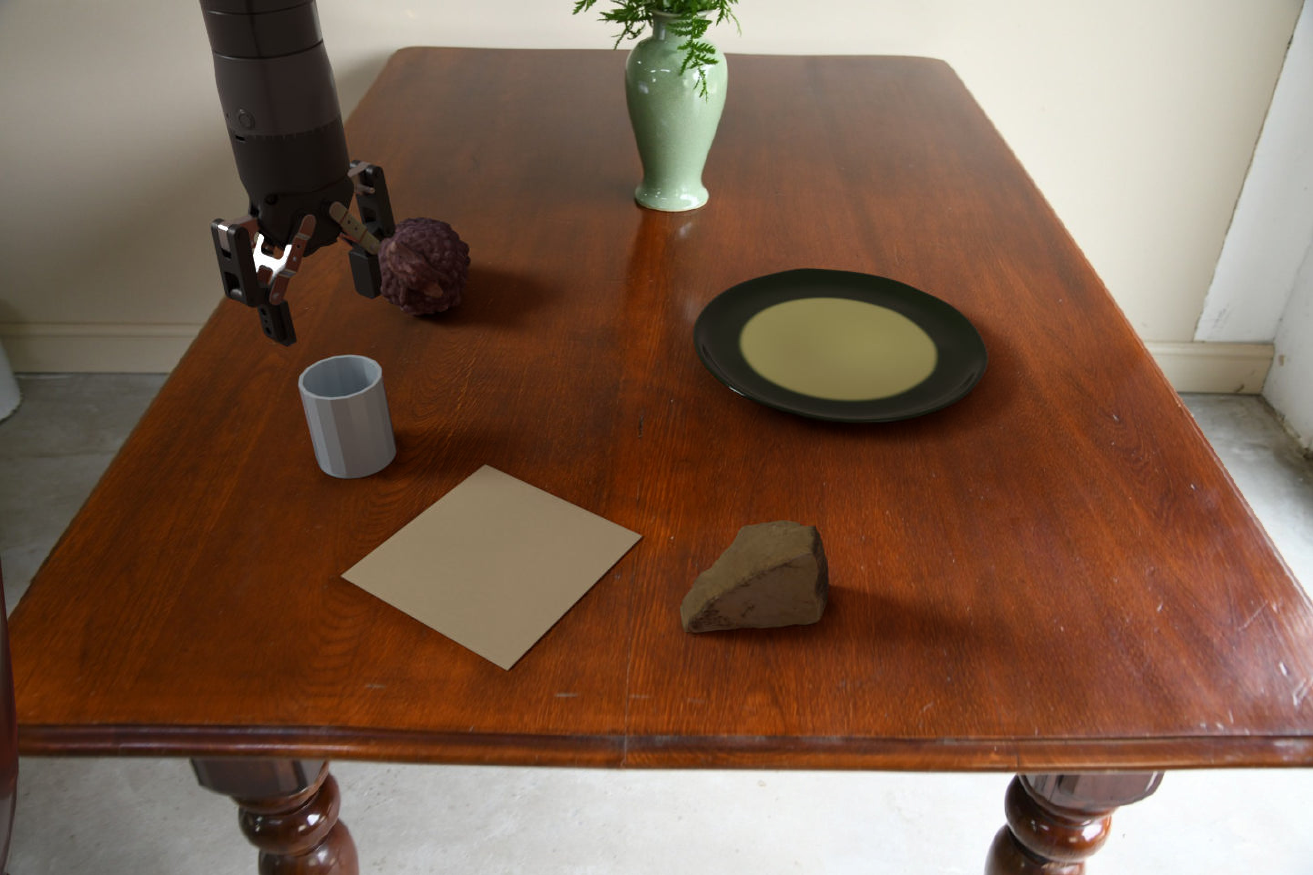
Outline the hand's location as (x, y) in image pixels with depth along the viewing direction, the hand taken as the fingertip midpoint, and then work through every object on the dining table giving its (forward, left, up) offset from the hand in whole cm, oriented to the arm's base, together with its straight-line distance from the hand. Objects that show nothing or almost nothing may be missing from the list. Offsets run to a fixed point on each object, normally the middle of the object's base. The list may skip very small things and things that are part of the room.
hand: (327, 317), depth 79 cm
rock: (+3, -37, -14) cm, 40 cm away
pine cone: (+23, +14, -14) cm, 30 cm away
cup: (0, 0, -13) cm, 13 cm away
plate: (+37, -27, -14) cm, 48 cm away
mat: (-3, -18, -13) cm, 23 cm away
